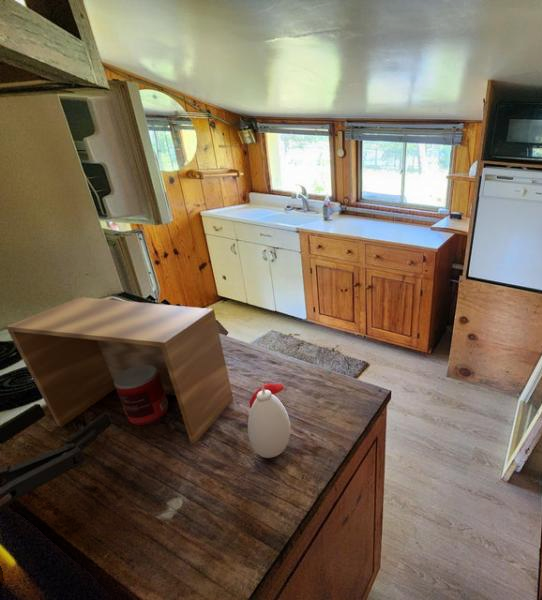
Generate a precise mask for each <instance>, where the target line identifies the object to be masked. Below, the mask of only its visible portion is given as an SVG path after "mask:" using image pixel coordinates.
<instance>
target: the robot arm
mask: <svg viewBox="0 0 542 600" xmlns="http://www.w3.org/2000/svg"><path fill="white" fill-rule="evenodd" d="M46 416H47V415H46V413H45V412H44V409H43V408H42V406H41V404H40V403H35V404H33V405H32V406H30V407H28V408H26V409H25V410H24V411H22V412H20V413H19V414H17V415H15V416H14V417H12V418H10V419H9V420H6V421H4V422H3V423H2V424H0V445H3V444H5V443H7V442H8V441H9V440H11V439H12V438H14V437H16V436H17V435H19V434H20V433H21V432H23V431H25V430H27V429H29V427H31V426H32V425H34V424H36V423H37V422H39V421H40V420H42V419H43V418H45V417H46ZM113 423H114V422H113V421H112V418H111V417H110V414H109V412H105V411H104V412H102V413H101V414H99V415H98V416H97V417H96V418H94V419H93V420H92V421H89V423H88V424H86V425H85V426H84V427H82V428H81V429H80V430H79V431H77V432H76V433H74V434H73V435H72V436H70V437H69V438H68V439H67V440H65V442H66V444H65V445H62V446H60V447H57V448H55V449H52V450H50V451H47V452H45V453H41V454H39V455H36V456H35V457H32V458H29V459H27V460H24V461H22V462H18V463H16V464H14V465H3V466H1V467H0V512H2V511H4V510H5V509H6V508H8V507H9V506H11V505H12V504H13V503H15V502H16V501H17V500H19V499H20V498H22V497H24V496H26V495H27V494H29V493H31V492H33V491H35V490H37V489H39V488H41V487H42V486H44V485H46V484H48V483H49V482H51V481H53V480H55V479H57V478H59V477H61V476H63V475H64V474H66V473H68V472H69V471H72V470H74V469H75V468H77V467H79V466H81V465H82V464H84V463H85V462H86V457H85V456H84V453H83V451H84V450H85V449H86V448H88V447H89V446H90V445H91V444H93V443H94V442H95V441H96V440H97V439H98V438H99V436H100V435H102V433H104V432H105V431H106V430H108V429H109V428H110V427H111V426H112V425H114V424H113ZM4 481H5V482H4ZM3 482H4V483H3Z"/></svg>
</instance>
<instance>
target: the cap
mask: <svg viewBox="0 0 542 600" xmlns="http://www.w3.org/2000/svg"><path fill="white" fill-rule="evenodd" d="M263 385H264V390H269V391H271V394H273V395H274V396H275V395H276V394H279V393H280V392H282V391H283V390H284V389H285V386H284V385H283V384H281V383H271V382H269V383H266V384H263ZM260 391H262V387H261V386H260V387H258V388H257V389H256V390H255V391H254V393H253V394H252V395H251V398H250V400H249V408H250V409H251V407H252V405H253V403H254V401H255V399H256V398H257V394H258V393H259V392H260Z"/></svg>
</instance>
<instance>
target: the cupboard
mask: <svg viewBox="0 0 542 600" xmlns="http://www.w3.org/2000/svg"><path fill="white" fill-rule="evenodd" d="M5 328H6V330H7V332H8V334H9V335H10V338H11V340H12V342H13V343H14V345H15V347H16V349H17V351H18V353H19V355H20V357H21V359H22V360H23V362H24V364H25V365H26V368H27V370H28V372H29V374H30V376H31V378H32V380H33V382H34V383H35V385H36V387H37V389H38V391H39V393H40V395H41V397H42V399H43V401H44V402H45V404H46V406H47V408H48V411H49V413H50V414H51V416H52V418H53V420H54V421H55V423H56V425H57V427H60V428H61V427H64V426H65V425H67V424H68V423H69V422H71V421H72V420H73V419H75V418H76V417H78V416H79V415H81V414H82V413H83V412H85V411H86V410H88V409H90V408H91V407H92V406H94V404H96V403H97V402H98V401H100V400H101V399H103V398H104V397H106V396H107V395H108V394H110V393H111V392H112V391H114V390H116V387H115V385H114V379H115V378H116V376H117V375H118V374H120V373H121V372H123V371H125V370H127V369H129V368H131V367H135V366H139V365H153V366H155V367H156V368H157V370H158V373H159V376H160V379H161V382H162V386H163V389H164V392H165V395H173V396H175V397H176V400H177V403H178V407H179V409H180V410H179V411H180V413H181V416H182V419H183V423H184V426H185V429H186V432H187V436H188V439H189V442H190V444H193V445H195V444H196V443H197V442H198V441H199V440H200V439H201V438H202V436H203V435H204V434H205V433H206V431H208V430H209V428H210V427H211V426H212V424H213V423H214V422H215V421H216V420H217V419H218V417H219V416H220V415H221V414H222V413H223V411H224V410H225V409H226V408H227V407H228V406H229V405H230V403H231V402H232V401H233V400H234V396H233V391H232V386H231V383H230V378H229V373H228V368H227V364H226V363H227V362H226V359H225V356H224V350H223V344H222V341H221V336H220V331H219V326H218V321H217V317H216V313H215V309H214V308H204V307H193V306H185V305H184V306H183V305H171V304H162V303H152V302H151V303H150V302H139V301H128V300H116V299H106V298H96V297H86V296H85V297H84V296H79V297H77V298H75V299H72V300H69V301H67V302H64V303H62V304H60V305H56V306H53V307H51V308H49V309H47V310H44V311H42V312H39V313H35V314H34V315H31V316H29V317H26V318H24V319H22V320H19V321H16V322H14V323H11V324H8V325H6V326H5Z"/></svg>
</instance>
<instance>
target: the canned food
mask: <svg viewBox="0 0 542 600" xmlns="http://www.w3.org/2000/svg"><path fill="white" fill-rule="evenodd" d="M114 385H115V387H116V388H115V390H116V393H117V396H118V397H119V400H120V402H121V405H122V408H123V411H124V412H125V415H126V417H127V420H128V421H129V422H130V423H131V424H133V425H136V426H143V425H148V424H151V423H154V422H155V421H158V420H159V419H161V418H162V417H163V416H164V415H166V413H167V411H168V410H169V402H168V398H167V396H166V395H167V394H165V392H164V389H163V386H162V382H161V379H160V376H159V373H158V370H157V368H156V367H155V366H153V365H139V366H135V367H131V368H129V369H127V370H125V371H123V372H121V373H120V374H118V375H117V376H116V378H115V379H114Z"/></svg>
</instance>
